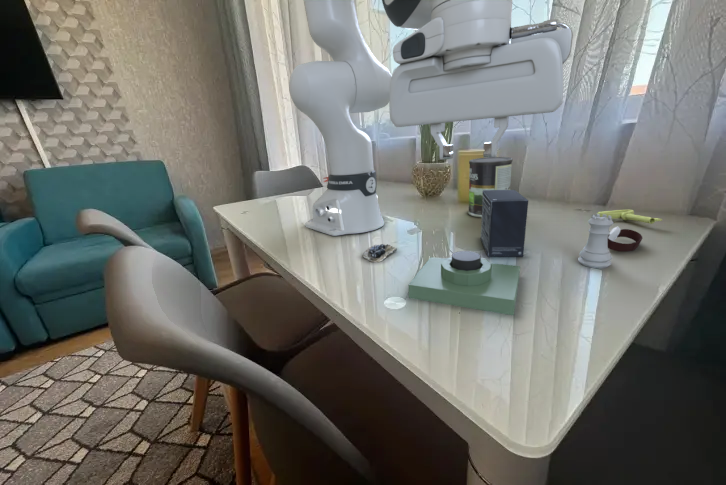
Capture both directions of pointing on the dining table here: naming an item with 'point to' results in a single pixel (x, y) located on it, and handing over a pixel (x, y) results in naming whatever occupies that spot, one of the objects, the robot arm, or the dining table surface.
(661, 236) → the dining table surface
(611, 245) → the watch
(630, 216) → the yellow-green branched tube
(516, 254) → the small box
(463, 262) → the spray button
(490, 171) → the coffee can
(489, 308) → the button box
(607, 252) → the rook chess piece
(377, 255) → the blueberries
